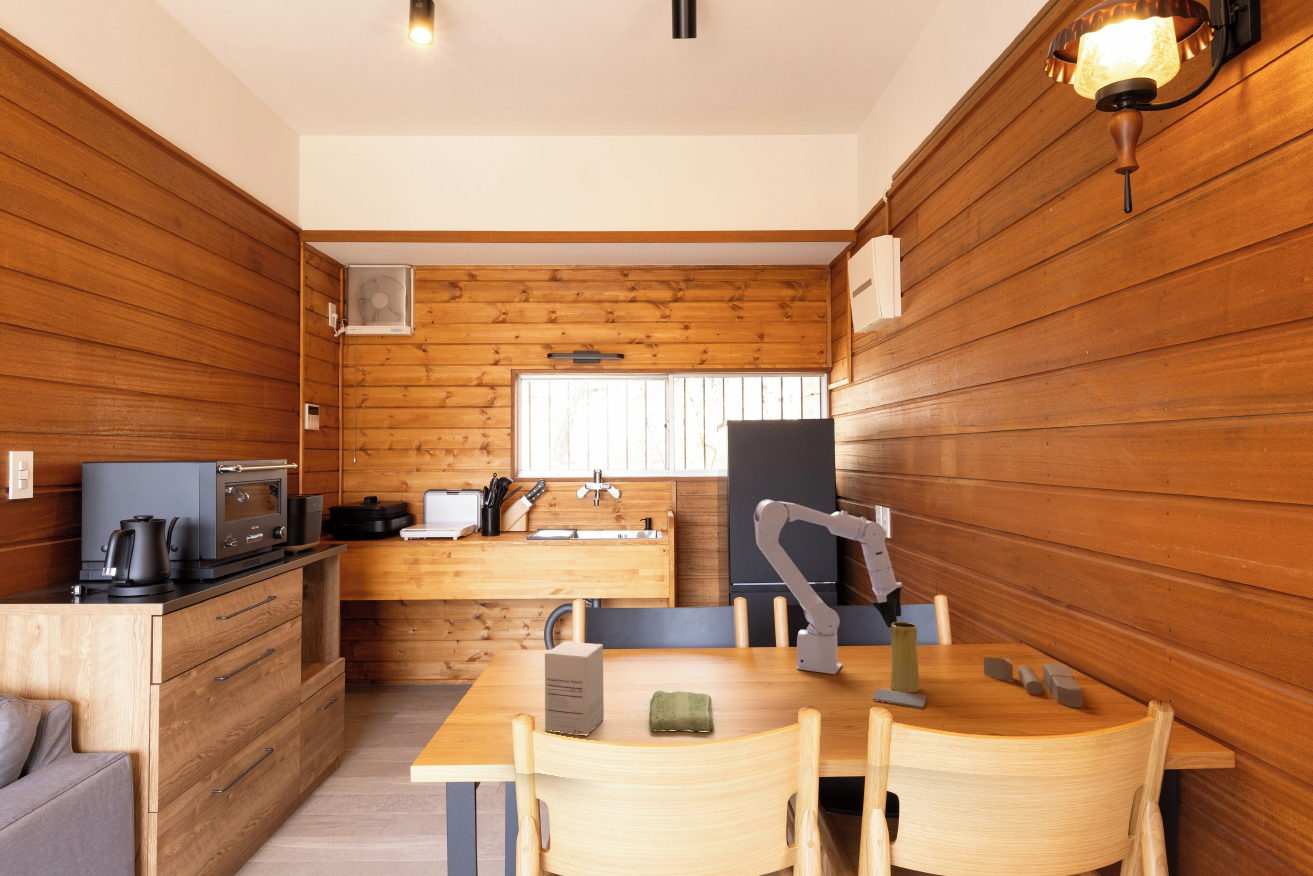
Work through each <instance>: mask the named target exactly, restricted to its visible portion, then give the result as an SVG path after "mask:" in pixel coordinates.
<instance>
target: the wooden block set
mask: <svg viewBox="0 0 1313 876" xmlns="http://www.w3.org/2000/svg"><path fill="white" fill-rule="evenodd" d="M1013 667H1014V664H1013V662H1012V661H1011V659H1010V658H1001V657H992V656H991V657H990V656H983V675H984V674H985V675H987V676H986V677H988V676H990V677H989V678H991V677H992V679H994V678H996V679H995V680H998V679H999V680H998V681H1001V680H1002V682H1004V681H1005V682H1004V683H1007V682H1008V684H1011V683H1013V684H1014V672H1013V671H1014V668H1013ZM1042 668H1043V669H1042V672H1043V674H1042V677H1043V679H1042V680H1043V682H1044V684H1045V686H1046V688H1047V689H1048V691H1049V693H1050V694H1052V695H1053V697H1054V698H1055V700H1056V703H1058V704H1061V705H1063V706H1066V707H1068V708H1072V709H1083V708H1084V699H1083V698H1084V695H1083V694H1084V692H1083V689H1082V688H1081V687H1080V686H1079V684H1078V682H1076V678H1075V676H1074V675H1073V673H1072V672H1071V671H1070V669H1069V668H1068V666H1067V665H1065V664H1060V663H1059V664H1058V663H1047V662H1045V663H1043V664H1042ZM1016 671H1017V674H1018V676H1019V678H1020V680H1021V683H1023V684H1022V685H1023V686H1024V689H1025V690H1026V692H1027V693H1028V694H1030V695H1032V694H1033V695H1034V696H1038V695H1040V694H1042V692H1043V685H1042V683H1041V682H1040V680H1039V679H1038V677H1037V675H1036V673H1035V671H1034V670H1033V668H1032V667H1031V666H1029V665H1028V664H1021V665H1019V666H1018V667H1017V670H1016ZM985 675H984V676H985Z"/></svg>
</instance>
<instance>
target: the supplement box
mask: <svg viewBox="0 0 1313 876" xmlns="http://www.w3.org/2000/svg"><path fill="white" fill-rule="evenodd" d="M604 706H605V703H604V645H603V643H602V644H601V643H587V642H586V643H585V642H579V641H578V642H576V641H562V642H561V643H559V644H558V645H556V646H555V647H553V648H552V649H550V650H548V651H547V652H545V653H544V728H545V730H544V732H546V731H547V732H546V733H554V734H557V733H556V732H554V731H560V732H563V733H564V735H566V734H565V733H572V734H588V733H589V732H590V731H591V730H592V729H593V728H594V727H595V728H596V727H597V726H599V724H600V723H601V722H602V721H603V720H604V719H605V717H604V712H605V710H604V709H605V708H604ZM603 718H604V719H603ZM601 720H602V721H601ZM596 725H597V726H596ZM595 728H594V729H595ZM550 730H552V731H550ZM560 734H562V733H560ZM562 735H563V734H562Z"/></svg>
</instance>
